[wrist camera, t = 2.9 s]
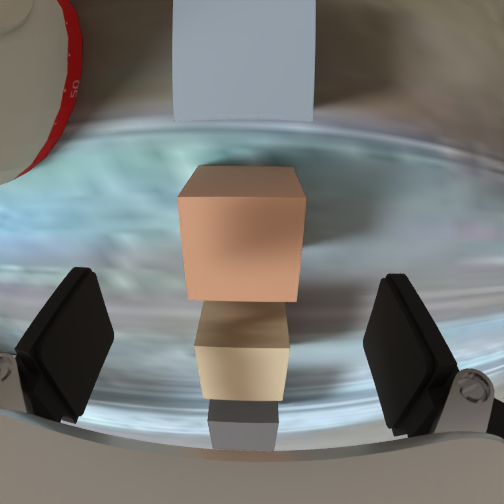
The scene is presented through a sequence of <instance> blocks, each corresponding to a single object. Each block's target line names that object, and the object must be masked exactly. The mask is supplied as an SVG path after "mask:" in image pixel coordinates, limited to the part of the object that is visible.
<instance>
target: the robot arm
mask: <svg viewBox="0 0 504 504" xmlns="http://www.w3.org/2000/svg"><path fill="white" fill-rule="evenodd" d="M113 340H114V331H113V328H112V325H111V322H110V319H109V316H108V313H107V310H106V306H105V303H104V300H103V297H102V293H101V290H100V287H99V283H98V280H97V276H96V274H95V273H94V272H92V270H91V269H90V268H86V267H74V268H73V269H72V270H71V271H70V272H69V273H68V275H67V276H66V277H65V278H64V280H63V281H62V282H61V284H60V285H59V286H58V288H57V289H56V290H55V292H54V293H53V294H52V296H51V297H50V298H49V300H48V301H47V302H46V304H45V305H44V306H43V308H42V309H41V311H40V312H39V313H38V315H37V316H36V318H35V319H34V321H33V322H32V323H31V325H30V326H29V328H28V329H27V331H26V332H25V334H24V335H23V337H22V338H21V340H20V341H19V343H18V344H17V346H16V347H15V351H16V352H17V355H16V357H15V358H14V357H13V356H12V355H11V354H8V353H0V504H504V403H503V402H501V401H499V400H497V399H495V398H494V387H493V384H492V382H491V380H490V379H489V378H488V377H487V376H486V375H485V374H484V373H482V372H481V371H479V370H476V369H463V370H461V371H459V369H458V367H457V362H456V360H455V359H454V357H453V355H452V353H451V351H450V349H449V347H448V345H447V344H446V342H445V340H444V338H443V336H442V335H441V333H440V331H439V329H438V327H437V326H436V324H435V322H434V320H433V319H432V317H431V315H430V314H429V312H428V310H427V308H426V307H425V305H424V303H423V302H422V300H421V299H420V297H419V295H418V294H417V292H416V290H415V289H414V287H413V286H412V284H411V282H410V281H409V279H408V278H407V276H406V275H405V274H387V276H386V278H382V279H381V282H380V285H379V289H378V292H377V296H376V299H375V303H374V306H373V309H372V313H371V316H370V319H369V323H368V326H367V329H366V332H365V335H364V339H363V347H364V351H365V354H366V357H367V360H368V364H369V367H370V370H371V373H372V376H373V380H374V383H375V386H376V390H377V393H378V397H379V400H380V404H381V407H382V411H383V414H384V418H385V422H386V425H387V427H388V428H389V429H390V428H392V431H393V435H394V436H400V435H405V434H407V435H408V438H404V439H399V440H393V441H386V442H379V443H372V444H364V445H356V446H348V447H338V448H327V449H313V450H293V451H237V450H217V449H203V448H192V447H182V446H174V445H166V444H158V443H152V442H145V441H139V440H133V439H128V438H122V437H117V436H112V435H108V434H103V433H99V432H94V431H90V430H86V429H82V428H78V427H74V426H70V425H67V424H63V423H60V422H61V419H62V420H64V421H67V422H71V423H74V424H76V422H77V420H78V417H79V416H82V415H83V413H84V411H85V408H86V405H87V403H88V400H89V398H90V395H91V393H92V390H93V388H94V385H95V383H96V380H97V378H98V375H99V373H100V371H101V368H102V366H103V364H104V361H105V359H106V357H107V354H108V352H109V350H110V347H111V345H112V343H113Z"/></svg>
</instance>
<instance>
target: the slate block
mask: <svg viewBox="0 0 504 504" xmlns="http://www.w3.org/2000/svg"><path fill="white" fill-rule="evenodd" d="M315 23H316V0H173V35H172V71H173V114H174V121H191V120H225V119H255V120H289V121H307V122H313V102H314V75H315Z"/></svg>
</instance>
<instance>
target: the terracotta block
mask: <svg viewBox="0 0 504 504" xmlns="http://www.w3.org/2000/svg"><path fill="white" fill-rule="evenodd" d="M177 199H178V211H179V222H180V233H181V243H182V252H183V261H184V270H185V278H186V286H187V294H188V300H207V301H248V302H297V293H298V284H299V275H300V265H301V255H302V245H303V235H304V224H305V212H306V200H307V198H306V196H305V193H304V191H303V189H302V186H301V184H300V182H299V179H298V177H297V175H296V172H295V170H294V168H293V167H286V166H198V167H197V168H196V170H195V171H194V173H193V174H192V176H191V177H190V179H189V180H188V182H187V183H186V185H185V186H184V188H183V189H182V191H181V192H180V194H179V195H178V197H177Z"/></svg>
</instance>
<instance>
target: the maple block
mask: <svg viewBox="0 0 504 504" xmlns="http://www.w3.org/2000/svg"><path fill="white" fill-rule="evenodd" d="M194 348H195V354H196V360H197V366H198V372H199V378H200V383H201V389H202V394H203V399H218V400H242V401H283V394H284V387H285V380H286V373H287V366H288V359H289V351H290V344H289V334H288V325H287V315H286V306H285V302H248V301H207V300H204V302H203V307H202V312H201V316H200V321H199V325H198V330H197V335H196V340H195V344H194Z"/></svg>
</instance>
